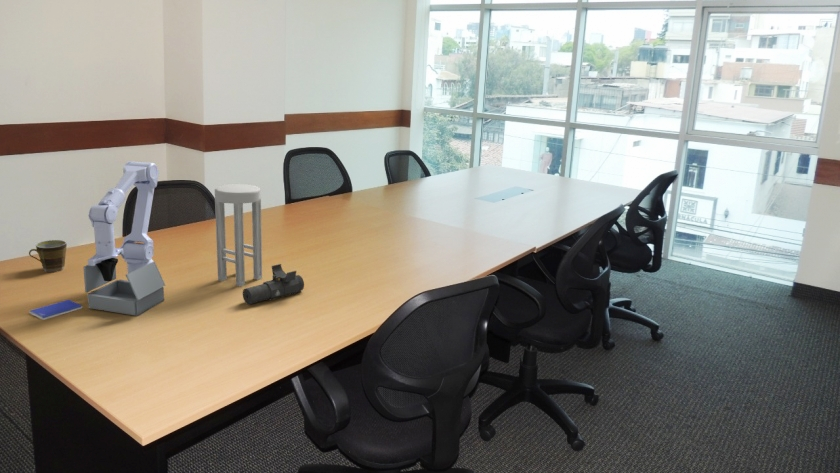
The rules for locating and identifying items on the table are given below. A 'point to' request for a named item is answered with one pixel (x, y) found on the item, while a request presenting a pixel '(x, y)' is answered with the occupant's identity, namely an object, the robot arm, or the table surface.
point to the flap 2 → (145, 280)
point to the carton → (123, 299)
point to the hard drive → (55, 309)
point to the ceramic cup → (51, 254)
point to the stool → (238, 230)
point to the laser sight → (274, 286)
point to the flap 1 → (94, 277)
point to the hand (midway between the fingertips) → (108, 280)
